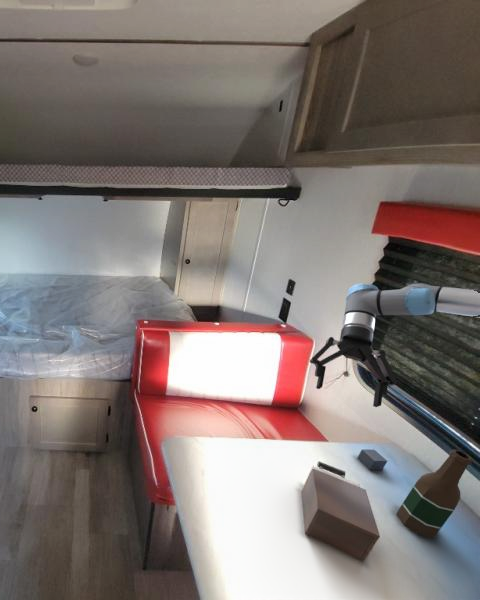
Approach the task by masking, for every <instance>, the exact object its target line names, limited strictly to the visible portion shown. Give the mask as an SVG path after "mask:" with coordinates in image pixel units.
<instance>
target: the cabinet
mask: <svg viewBox="0 0 480 600" xmlns="http://www.w3.org/2000/svg"><path fill="white" fill-rule="evenodd" d="M311 469H312V470H311ZM311 469H310V471H311V472H310V471H309V473H310V474H309V473H308V475H309V476H308V475H307V478H306V480H307V481H306V480H305V482H306V483H305V482H304V484H305V485H304V484H303V486H304V487H302V489H301V491H300V493H301V494H300V495H301V503H302V504H301V505H302V506H301V507H302V515H303V527H304V534H305V535H306V536H308V537H310V538H312V539H314V540H316V541H318V542H321V543H322V544H325V545H326V546H329V547H331V548H333V549H335V550H337V551H339V552H341V553H343V554H345V555H348V556H350V557H352V558H353V559H356V560H357V561H361V562H362V563H364V562H365V561H366V559H367V557H368V556H369V554H370V553H371V552H372V550H373V548H374V547H375V545H376V544H377V542H378V540H379V539H380V537H381V535H380V532H379V528H378V525H377V521H376V518H375V515H374V511H373V509H372V506H371V503H370V499H369V496H368V493H367V489H365V488H362V487H361V486H360V487H358V486H355V485H353V484H350V483H348V482H345V481H343V480H340V479H338V478H336V477H333V476H331V475H328V474H326V473H323V472H321V471H318V470H316V469H313V468H312V467H311Z"/></svg>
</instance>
